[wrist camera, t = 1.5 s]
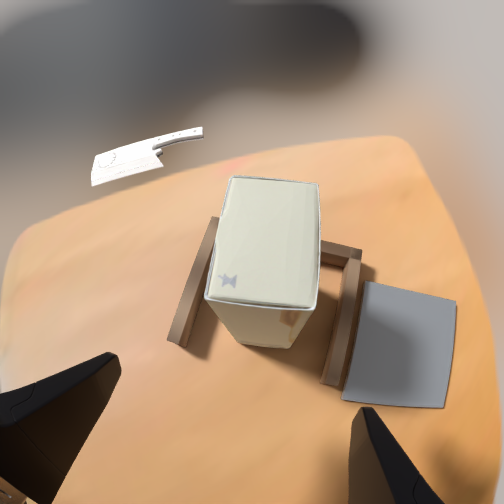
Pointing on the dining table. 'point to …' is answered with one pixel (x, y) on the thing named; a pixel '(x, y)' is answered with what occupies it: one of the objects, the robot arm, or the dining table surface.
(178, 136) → the white meat cleaver
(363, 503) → the robot arm
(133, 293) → the dining table surface
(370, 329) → the slate coaster
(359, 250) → the walnut cubby
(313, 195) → the skincare box
